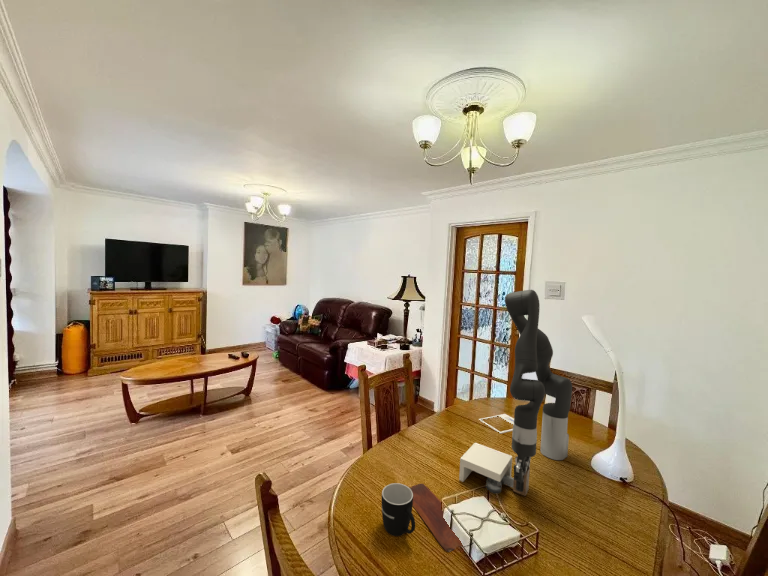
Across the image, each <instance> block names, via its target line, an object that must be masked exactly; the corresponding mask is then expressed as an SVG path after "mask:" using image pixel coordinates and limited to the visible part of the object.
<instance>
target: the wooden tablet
mask: <svg viewBox="0 0 768 576" xmlns="http://www.w3.org/2000/svg"><path fill="white" fill-rule="evenodd" d="M409 488H410V489H411V491H412V493H413V505H412V508H414V510H416V512H417V513H418V515H419V517H421V519H422V520H423V522H424V524H425V525H426V526H427V528H428V529H429V531H430V532H431V533H432V535H433V536H434V538H435V539H436V541H437V542H438V544H439V545H440V546H441V547H442V548H443V549H444V551H446V552H447V553H450V552H452V551H454V550H456V549H457V547H463V545H462V543H461V541H460V540H459V538H458V537H457V536H456V535H455V533H454V532H453V531H452V530H451V529H450V527H449V525H448V524H447V522H446V521H445V519H444V518H443V511H442V510H441V502H442V500H441V499H440V498H439V497H437V496H436V494H435V493H434V492H433V491H432V490H431V489H429V488H428V487H427V486H426V485H425V484H424V483H418V484H415V485H412V486H411V487H410V486H409ZM463 548H464V547H463Z"/></svg>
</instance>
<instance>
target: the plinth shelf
mask: <svg viewBox="0 0 768 576" xmlns="http://www.w3.org/2000/svg"><path fill="white" fill-rule="evenodd" d="M459 459H460V460H459V474H458V475H459V478H458V480H459V481H461V482H465V480H466V479H467V478H468V477H469V475H470V474H471V473H472V472H475V473H477V474H479V473H480V474H479V475H482V476H483V477H486V476H487V478H492V479H494V480H496V481H499V482H500V481H501V479H502V478H503V476H504V475H507V476H510V477H512V471H513V470H512V468H513V456H512V455H511V454H508V453H505V452H502V451H499V450H496V449H494V448H491V447H488V446H486V445H484V444H479V443H477V442H474V443H473V444H472V445H471V446H470V447H469V448H468V450H466V451H465V452H464V453H463V455H461V457H460V458H459Z"/></svg>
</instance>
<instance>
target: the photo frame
mask: <svg viewBox="0 0 768 576" xmlns="http://www.w3.org/2000/svg"><path fill="white" fill-rule="evenodd" d="M497 416H499V417H497ZM493 417H494V418H500V417H501V418H502V419H501V418H500V419H501V420H503V419H504V420H503V421H505V420H506V421H505V422H506V423H508V422H509V424H510V423H511V424H510V425H512V424H513V425H514V417H512V416H510V415H508V414H506V413H502V414H497V415H492V416H488V417H487V416H486V417H481V418H478V421H479V420H480V421H479V422H481V423H483V424H484V423H485V424H484V425H486V426H487V425H488V426H487V427H489V428H491V429H492V430H494V431H495V432H497V433H498V432H499V433H498V434H501V435H502V434H505V433H509V432H513V428H510V429H505V430H502V431H500V430H498V429H497V428H495V427H494V426H492V425H491V424H488V423H487V422H485V421H484V420H483V419H485V420H489V419H488V418H490V419H493ZM513 425H512V426H513Z"/></svg>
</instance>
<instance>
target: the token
mask: <svg viewBox="0 0 768 576" xmlns="http://www.w3.org/2000/svg"><path fill="white" fill-rule="evenodd" d="M485 482H486V483H485V489H486V488H487V489H486V490H487V491H488V490H489V491H490V493H491V494H495V495H497V494H498V495H499V494H501V492H502V485H503V483H501V482H499V481H496V480H494V479H492V478H489V477H487V478H486V480H485ZM489 491H488V492H489Z"/></svg>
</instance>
